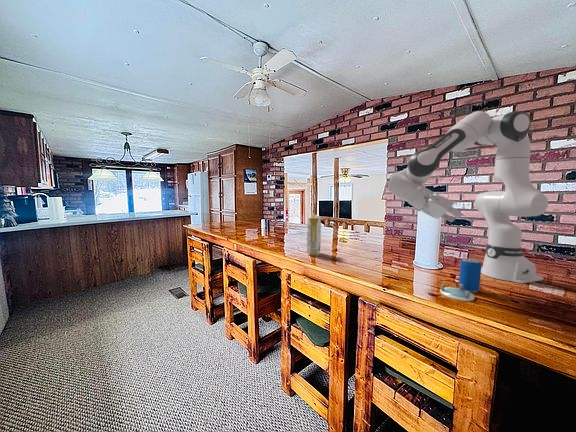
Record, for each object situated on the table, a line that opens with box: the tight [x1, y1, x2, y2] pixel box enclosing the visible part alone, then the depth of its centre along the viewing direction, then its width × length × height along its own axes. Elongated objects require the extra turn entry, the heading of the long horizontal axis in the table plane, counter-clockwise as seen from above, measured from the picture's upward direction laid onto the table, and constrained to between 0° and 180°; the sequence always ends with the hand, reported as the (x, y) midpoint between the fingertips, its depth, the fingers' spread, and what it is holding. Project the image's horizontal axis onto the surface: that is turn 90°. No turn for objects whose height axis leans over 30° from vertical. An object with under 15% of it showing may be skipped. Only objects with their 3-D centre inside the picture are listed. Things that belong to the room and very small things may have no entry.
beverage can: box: [458, 257, 482, 294], centre depth 92 cm, size 6×6×12 cm
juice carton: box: [306, 214, 322, 257], centre depth 144 cm, size 9×8×24 cm
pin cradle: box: [439, 283, 476, 302], centre depth 88 cm, size 10×10×3 cm
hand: (457, 218), depth 92 cm, fingers open, 8 cm apart
